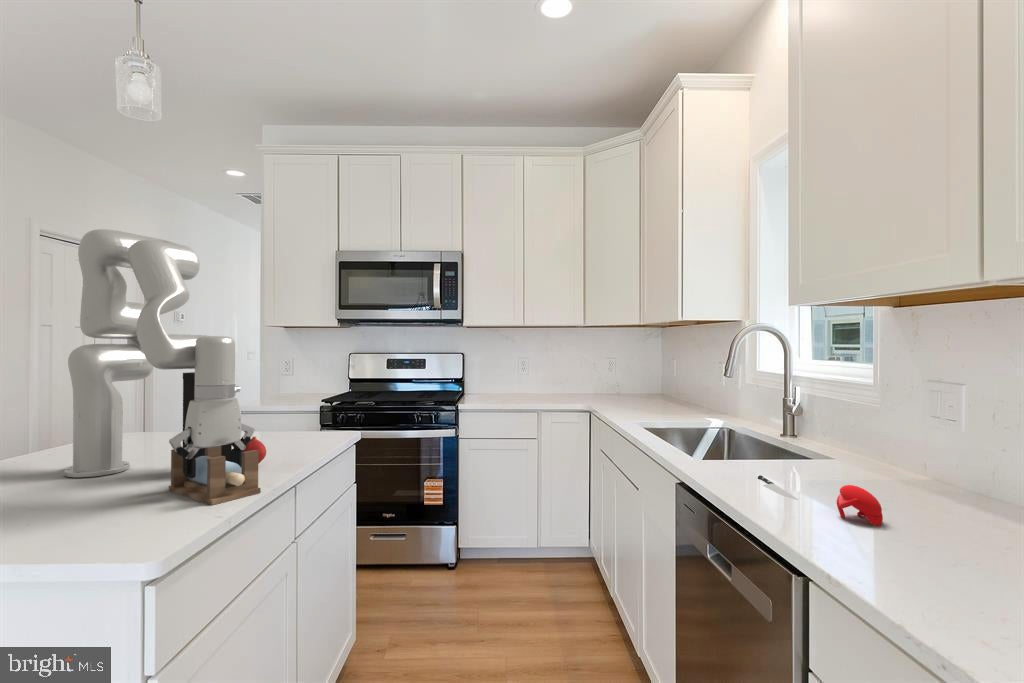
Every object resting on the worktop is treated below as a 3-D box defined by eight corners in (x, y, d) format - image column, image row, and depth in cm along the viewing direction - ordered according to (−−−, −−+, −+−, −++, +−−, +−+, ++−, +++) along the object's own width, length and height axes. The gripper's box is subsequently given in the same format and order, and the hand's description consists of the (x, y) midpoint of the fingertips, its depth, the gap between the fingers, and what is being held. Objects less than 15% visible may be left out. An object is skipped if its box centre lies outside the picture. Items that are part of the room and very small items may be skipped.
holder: (168, 490, 111) (169, 449, 111) (216, 480, 119) (216, 441, 119) (212, 505, 101) (212, 459, 101) (260, 492, 109) (260, 451, 109)
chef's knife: (787, 504, 105) (802, 503, 105) (787, 499, 105) (802, 498, 105) (749, 479, 125) (761, 478, 124) (748, 474, 125) (761, 473, 124)
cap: (823, 497, 98) (845, 488, 93) (842, 484, 100) (865, 474, 95) (853, 536, 95) (878, 529, 90) (872, 521, 97) (898, 514, 92)
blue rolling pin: (177, 483, 113) (177, 456, 112) (206, 477, 118) (205, 451, 118) (224, 498, 102) (224, 468, 102) (253, 490, 107) (252, 462, 107)
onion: (235, 469, 129) (235, 437, 129) (250, 463, 135) (251, 433, 135) (256, 470, 128) (256, 438, 128) (270, 464, 134) (271, 434, 134)
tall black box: (181, 473, 125) (182, 359, 125) (213, 466, 132) (214, 358, 132) (200, 477, 122) (201, 360, 122) (232, 470, 129) (233, 359, 129)
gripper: (244, 389, 119) (243, 462, 119) (162, 395, 105) (161, 478, 105) (263, 391, 115) (262, 466, 115) (179, 397, 101) (178, 484, 101)
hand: (214, 472), depth 110 cm, fingers open, 9 cm apart
